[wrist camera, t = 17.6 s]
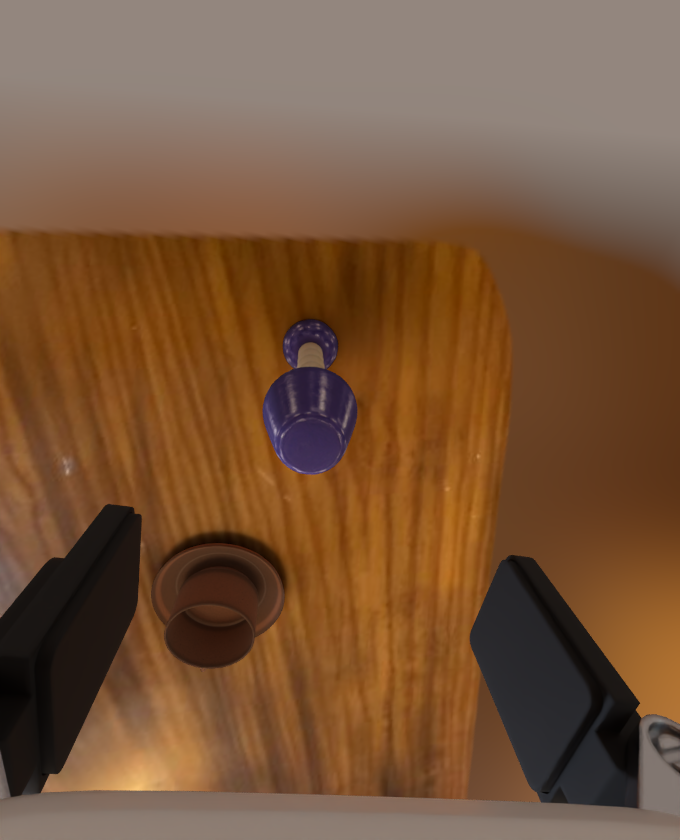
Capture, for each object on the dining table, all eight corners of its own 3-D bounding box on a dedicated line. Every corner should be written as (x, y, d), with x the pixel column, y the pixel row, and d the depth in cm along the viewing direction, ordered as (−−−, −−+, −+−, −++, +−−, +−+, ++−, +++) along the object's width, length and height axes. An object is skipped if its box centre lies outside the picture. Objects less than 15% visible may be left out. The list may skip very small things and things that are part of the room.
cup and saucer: (291, 621, 43) (290, 677, 38) (173, 635, 43) (153, 695, 37) (276, 525, 39) (272, 573, 33) (143, 540, 38) (116, 591, 33)
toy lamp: (331, 383, 34) (356, 498, 19) (273, 374, 33) (250, 486, 18) (342, 323, 32) (379, 397, 17) (281, 313, 32) (262, 380, 16)
